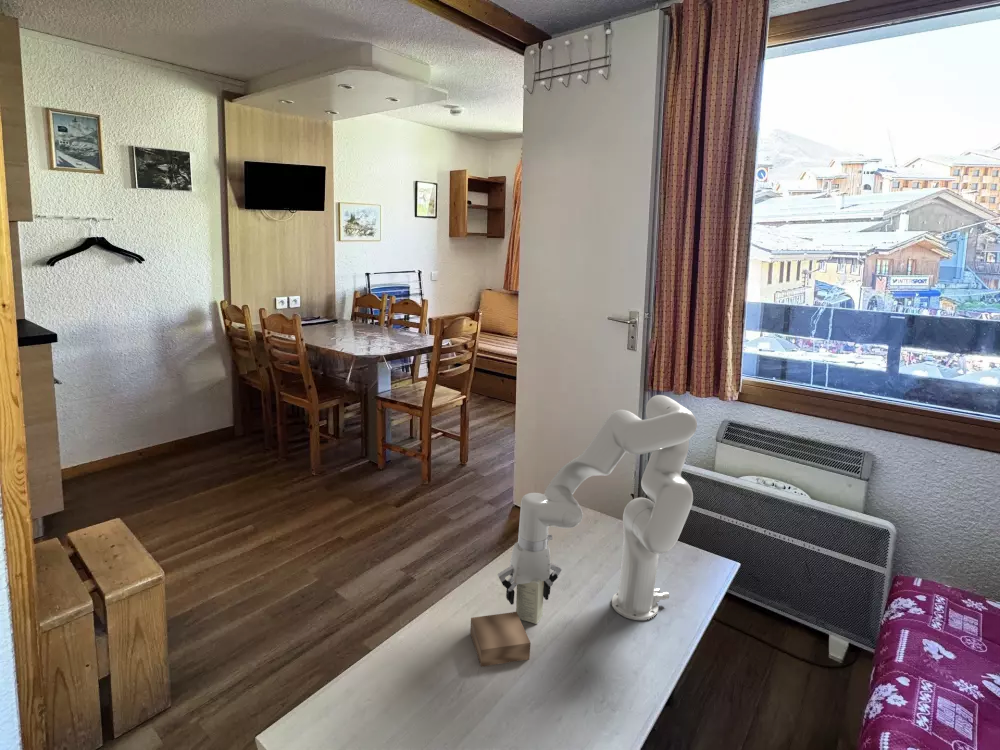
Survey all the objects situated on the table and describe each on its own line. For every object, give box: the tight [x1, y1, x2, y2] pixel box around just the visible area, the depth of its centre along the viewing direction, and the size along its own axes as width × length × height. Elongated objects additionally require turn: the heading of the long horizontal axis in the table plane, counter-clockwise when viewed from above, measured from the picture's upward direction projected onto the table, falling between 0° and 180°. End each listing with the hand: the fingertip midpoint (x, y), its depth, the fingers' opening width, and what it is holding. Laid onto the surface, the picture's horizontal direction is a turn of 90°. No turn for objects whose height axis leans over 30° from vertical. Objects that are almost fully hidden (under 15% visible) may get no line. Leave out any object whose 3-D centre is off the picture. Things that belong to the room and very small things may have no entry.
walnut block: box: [469, 611, 531, 667], centre depth 151 cm, size 12×12×5 cm
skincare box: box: [515, 580, 544, 625], centre depth 162 cm, size 6×4×12 cm
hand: (527, 599), depth 162 cm, fingers open, 9 cm apart
